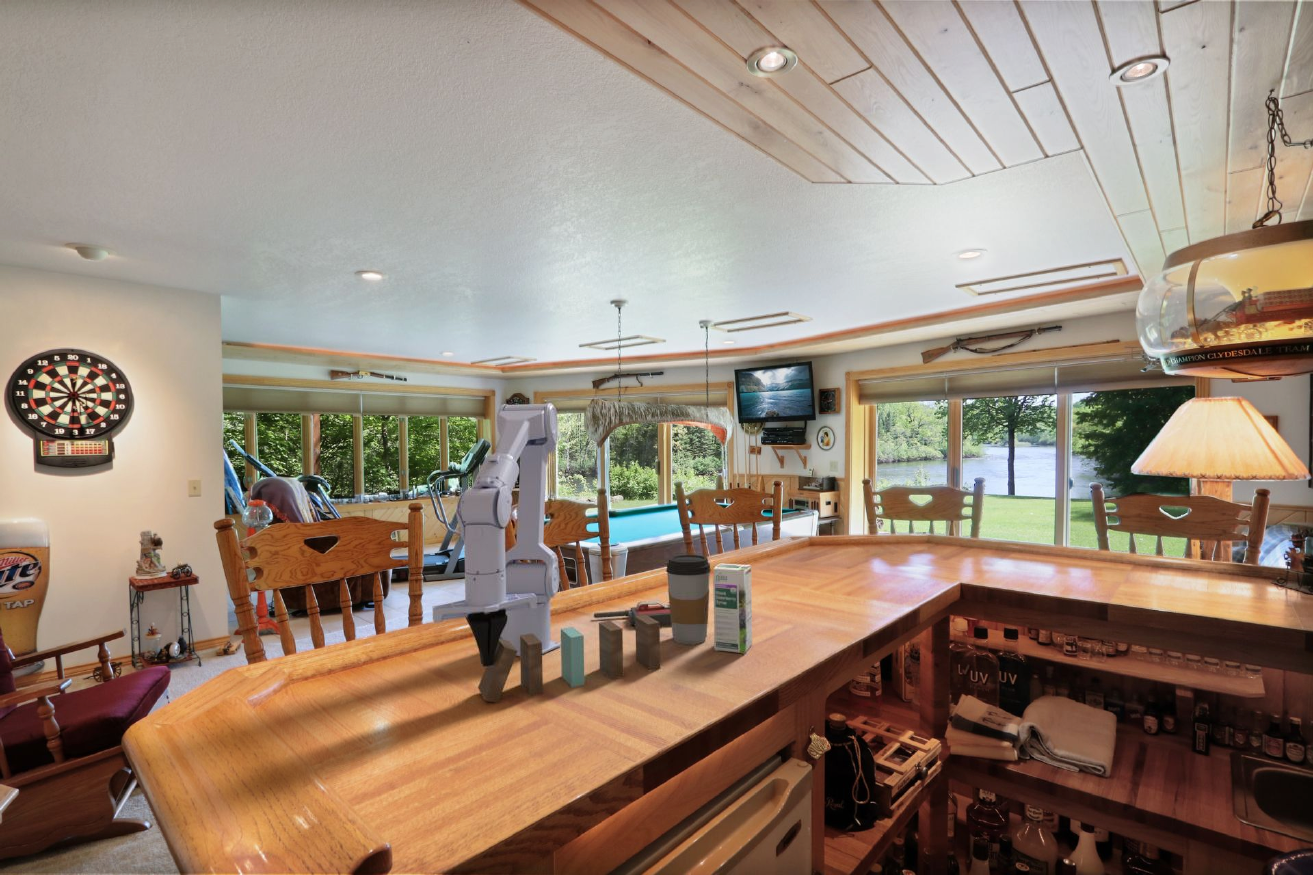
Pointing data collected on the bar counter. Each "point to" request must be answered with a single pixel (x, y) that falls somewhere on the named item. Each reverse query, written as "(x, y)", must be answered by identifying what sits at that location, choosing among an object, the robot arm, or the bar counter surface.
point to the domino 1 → (497, 671)
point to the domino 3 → (572, 656)
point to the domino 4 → (611, 649)
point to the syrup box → (732, 608)
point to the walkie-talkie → (643, 613)
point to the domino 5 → (647, 642)
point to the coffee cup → (688, 597)
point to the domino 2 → (531, 664)
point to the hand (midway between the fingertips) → (487, 663)
